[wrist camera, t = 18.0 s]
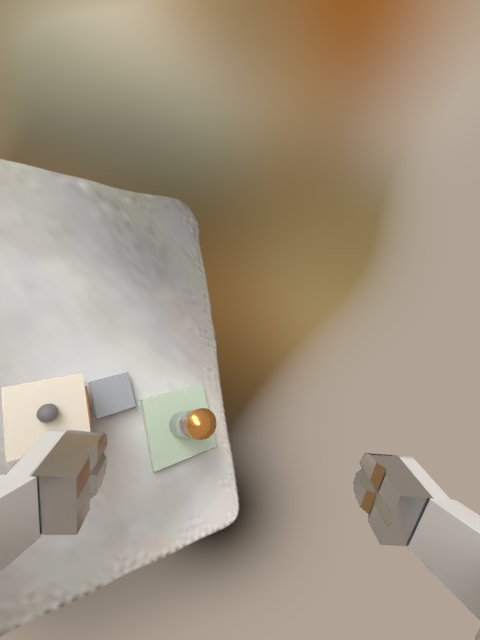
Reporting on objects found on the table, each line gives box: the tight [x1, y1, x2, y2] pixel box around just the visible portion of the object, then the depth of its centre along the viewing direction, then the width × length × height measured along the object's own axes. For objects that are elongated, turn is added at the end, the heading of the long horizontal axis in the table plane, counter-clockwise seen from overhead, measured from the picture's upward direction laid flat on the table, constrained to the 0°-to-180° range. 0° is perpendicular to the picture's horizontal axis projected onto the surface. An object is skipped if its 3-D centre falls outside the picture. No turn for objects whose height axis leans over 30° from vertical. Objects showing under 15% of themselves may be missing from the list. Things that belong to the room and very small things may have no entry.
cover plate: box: [88, 372, 136, 419], centre depth 45 cm, size 6×6×2 cm
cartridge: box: [169, 408, 216, 440], centre depth 46 cm, size 5×5×10 cm
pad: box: [140, 384, 216, 472], centre depth 50 cm, size 12×12×1 cm
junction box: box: [1, 373, 92, 462], centre depth 36 cm, size 8×8×14 cm
